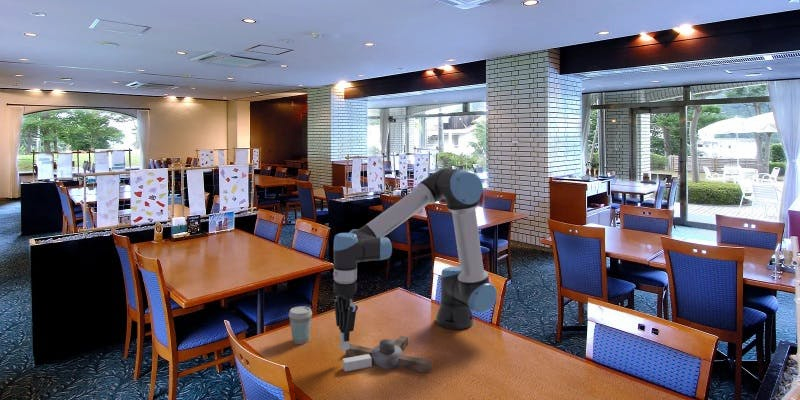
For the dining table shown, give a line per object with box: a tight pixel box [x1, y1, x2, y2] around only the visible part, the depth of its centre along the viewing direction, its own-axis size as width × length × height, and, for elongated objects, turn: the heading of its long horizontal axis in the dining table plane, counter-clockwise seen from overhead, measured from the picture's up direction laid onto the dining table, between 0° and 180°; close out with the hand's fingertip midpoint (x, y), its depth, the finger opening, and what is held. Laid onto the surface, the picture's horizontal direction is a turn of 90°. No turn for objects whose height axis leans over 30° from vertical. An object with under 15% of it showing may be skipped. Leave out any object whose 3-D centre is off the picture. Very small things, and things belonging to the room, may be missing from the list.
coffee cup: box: [288, 305, 313, 345], centre depth 166 cm, size 8×8×12 cm
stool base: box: [345, 335, 432, 374], centre depth 151 cm, size 23×23×7 cm
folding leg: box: [342, 354, 373, 372], centre depth 147 cm, size 9×3×3 cm, turn 112°
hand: (344, 349), depth 150 cm, fingers closed
